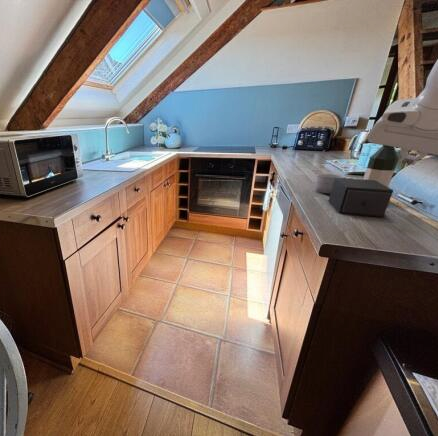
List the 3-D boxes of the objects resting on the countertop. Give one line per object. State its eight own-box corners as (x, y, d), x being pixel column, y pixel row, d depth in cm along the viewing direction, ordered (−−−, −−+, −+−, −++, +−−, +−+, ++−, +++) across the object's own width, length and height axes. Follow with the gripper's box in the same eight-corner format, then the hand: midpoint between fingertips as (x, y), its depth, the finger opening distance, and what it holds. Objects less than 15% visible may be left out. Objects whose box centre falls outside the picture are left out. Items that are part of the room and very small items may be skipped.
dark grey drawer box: (383, 217, 83) (393, 190, 79) (338, 212, 87) (346, 187, 84) (366, 204, 95) (375, 180, 92) (328, 200, 100) (334, 177, 96)
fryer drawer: (385, 217, 81) (393, 194, 78) (343, 213, 85) (350, 191, 82) (367, 203, 93) (374, 183, 90) (332, 200, 97) (337, 181, 94)
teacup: (310, 192, 110) (314, 175, 107) (315, 187, 118) (319, 171, 115) (348, 198, 102) (354, 180, 98) (351, 193, 109) (357, 175, 106)
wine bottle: (356, 194, 107) (380, 121, 95) (382, 197, 102) (410, 121, 91) (357, 199, 101) (383, 121, 89) (384, 202, 96) (415, 121, 85)
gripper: (515, 112, 49) (469, 167, 59) (386, 100, 62) (366, 146, 72) (506, 128, 47) (460, 182, 57) (375, 112, 60) (356, 158, 70)
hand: (407, 162), depth 64 cm, fingers closed
